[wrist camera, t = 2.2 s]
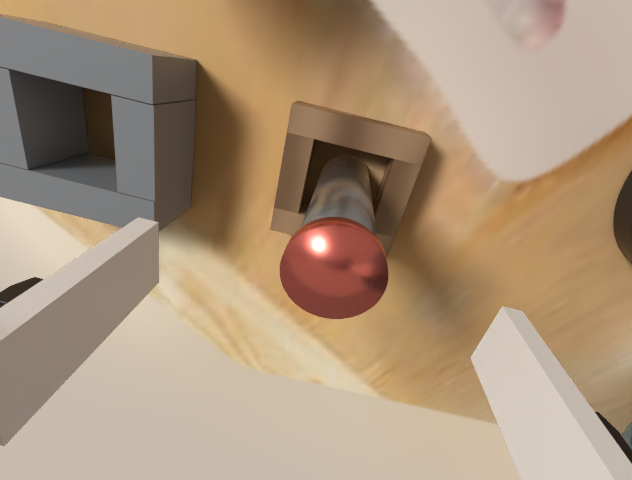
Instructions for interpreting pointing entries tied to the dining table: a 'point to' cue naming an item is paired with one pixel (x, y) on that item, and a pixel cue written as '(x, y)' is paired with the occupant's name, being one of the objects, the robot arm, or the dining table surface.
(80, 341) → the robot arm
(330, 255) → the lock pin
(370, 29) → the dining table surface
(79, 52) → the block
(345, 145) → the mount collar
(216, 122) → the dining table surface
